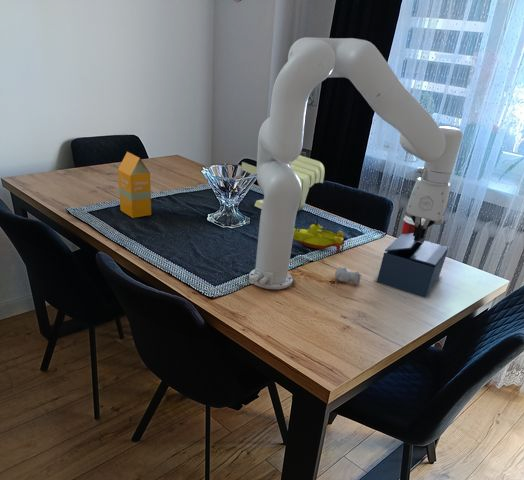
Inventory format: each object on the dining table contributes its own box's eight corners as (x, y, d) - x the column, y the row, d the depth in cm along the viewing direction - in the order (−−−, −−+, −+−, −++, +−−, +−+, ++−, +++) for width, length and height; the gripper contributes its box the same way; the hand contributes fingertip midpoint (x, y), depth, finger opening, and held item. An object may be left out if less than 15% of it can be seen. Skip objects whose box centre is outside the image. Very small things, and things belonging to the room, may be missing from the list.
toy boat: (341, 255, 163) (347, 226, 158) (288, 246, 166) (292, 217, 160) (343, 248, 169) (349, 220, 163) (291, 239, 171) (295, 211, 165)
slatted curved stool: (268, 222, 183) (273, 173, 173) (238, 209, 191) (242, 161, 181) (318, 208, 202) (326, 163, 192) (289, 197, 210) (295, 153, 200)
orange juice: (132, 218, 173) (129, 158, 162) (120, 210, 178) (116, 152, 167) (151, 214, 177) (150, 156, 166) (139, 207, 183) (137, 150, 171)
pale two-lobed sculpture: (330, 282, 149) (341, 273, 151) (352, 291, 144) (363, 282, 147) (330, 270, 146) (340, 261, 148) (352, 280, 141) (363, 270, 144)
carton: (425, 297, 144) (435, 265, 138) (376, 282, 149) (384, 250, 144) (438, 277, 157) (448, 247, 151) (393, 264, 162) (401, 234, 156)
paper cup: (420, 258, 168) (432, 218, 160) (409, 264, 163) (421, 223, 155) (400, 250, 172) (411, 211, 164) (389, 256, 167) (399, 215, 160)
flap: (410, 249, 140) (410, 247, 140) (384, 251, 144) (384, 250, 144) (425, 232, 152) (425, 231, 152) (401, 235, 156) (401, 234, 156)
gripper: (405, 172, 136) (389, 236, 146) (460, 185, 130) (439, 250, 140) (413, 167, 141) (396, 229, 151) (466, 179, 136) (445, 242, 146)
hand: (417, 239), depth 146 cm, fingers closed
